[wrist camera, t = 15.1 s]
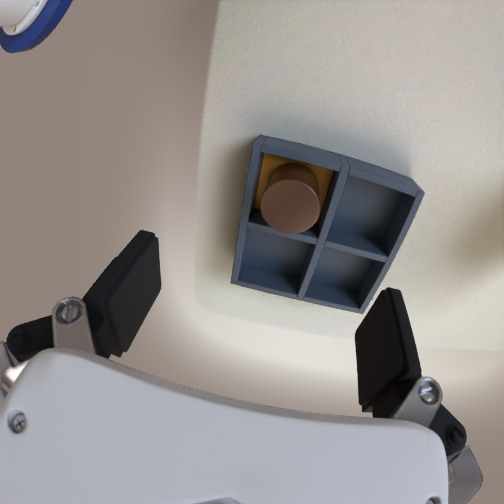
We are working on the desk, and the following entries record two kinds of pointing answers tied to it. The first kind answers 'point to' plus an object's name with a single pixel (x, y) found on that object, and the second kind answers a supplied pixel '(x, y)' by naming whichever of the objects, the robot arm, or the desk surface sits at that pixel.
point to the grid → (325, 228)
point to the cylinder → (291, 199)
